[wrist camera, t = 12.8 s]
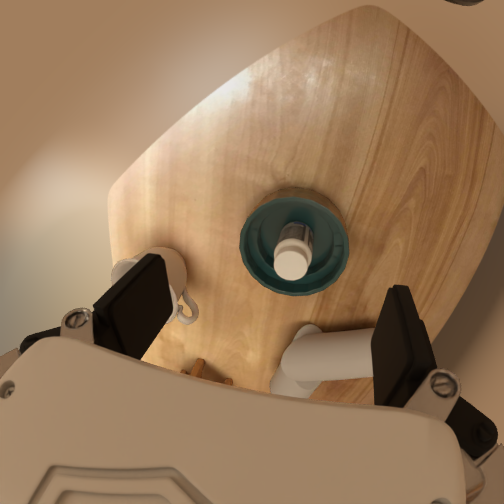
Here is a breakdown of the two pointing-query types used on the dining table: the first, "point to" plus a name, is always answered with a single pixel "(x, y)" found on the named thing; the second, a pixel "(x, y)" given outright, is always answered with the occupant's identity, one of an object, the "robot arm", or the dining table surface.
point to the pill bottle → (293, 251)
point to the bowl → (268, 231)
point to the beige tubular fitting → (322, 360)
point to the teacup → (175, 278)
